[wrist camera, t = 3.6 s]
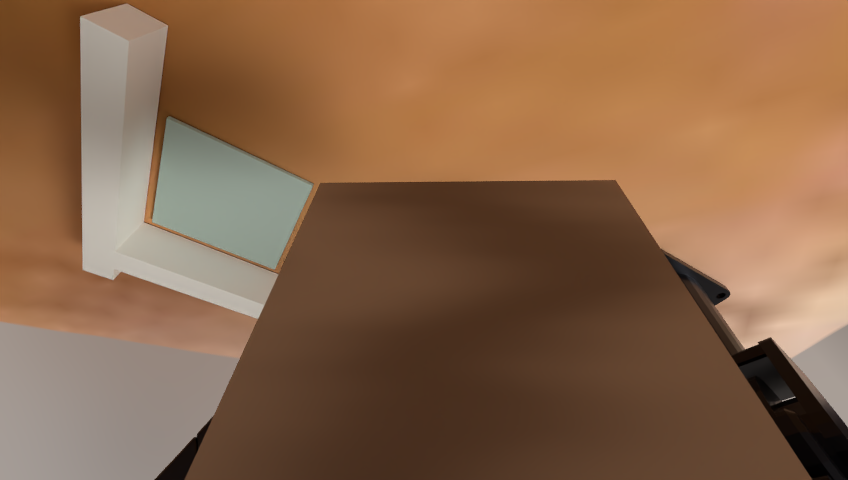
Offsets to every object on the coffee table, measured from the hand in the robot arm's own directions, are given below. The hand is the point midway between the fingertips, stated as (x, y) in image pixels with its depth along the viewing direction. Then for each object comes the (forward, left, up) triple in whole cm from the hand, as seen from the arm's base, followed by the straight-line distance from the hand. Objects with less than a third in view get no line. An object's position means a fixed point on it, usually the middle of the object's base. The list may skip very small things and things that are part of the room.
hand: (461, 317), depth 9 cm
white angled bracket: (+7, +9, -11) cm, 16 cm away
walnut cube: (0, 0, -1) cm, 1 cm away
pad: (+8, +10, -11) cm, 17 cm away
